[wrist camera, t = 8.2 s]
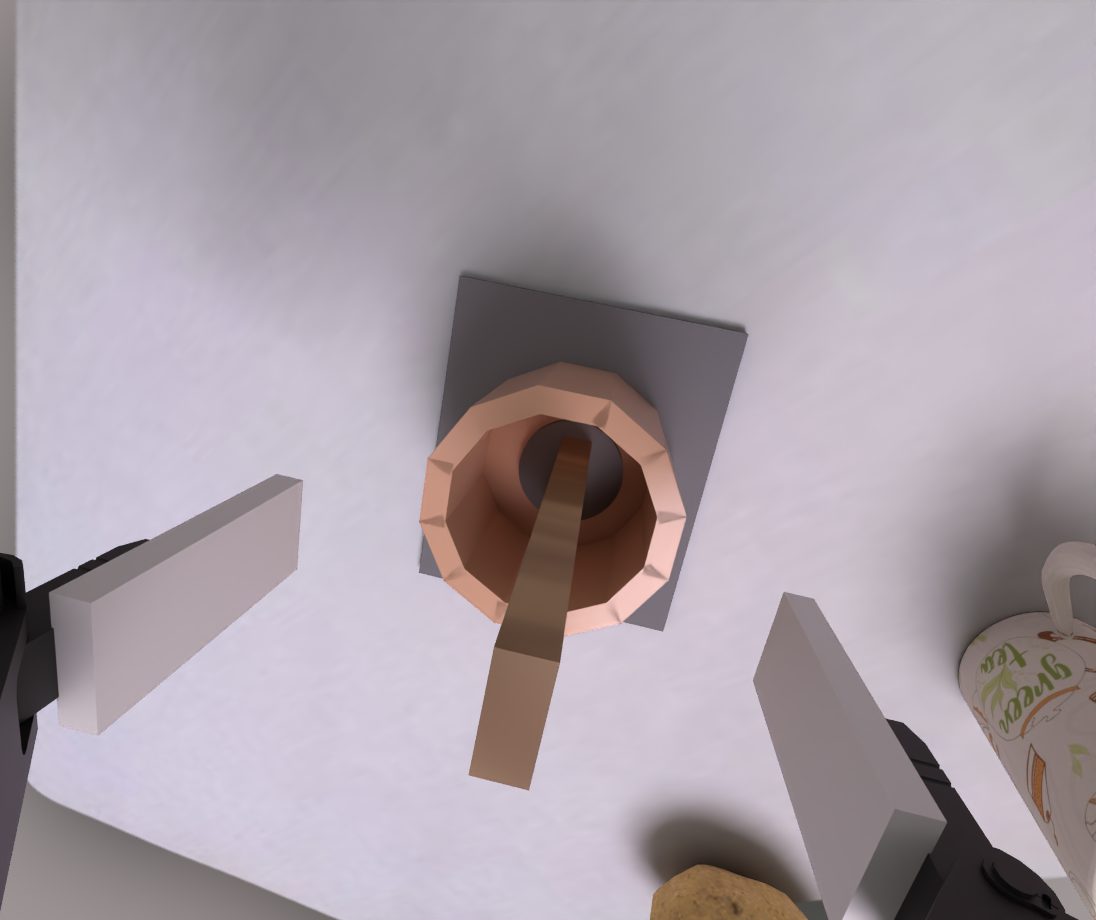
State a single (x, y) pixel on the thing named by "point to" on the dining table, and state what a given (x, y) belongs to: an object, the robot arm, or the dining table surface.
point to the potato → (720, 898)
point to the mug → (1045, 712)
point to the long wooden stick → (541, 594)
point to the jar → (508, 516)
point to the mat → (606, 344)
